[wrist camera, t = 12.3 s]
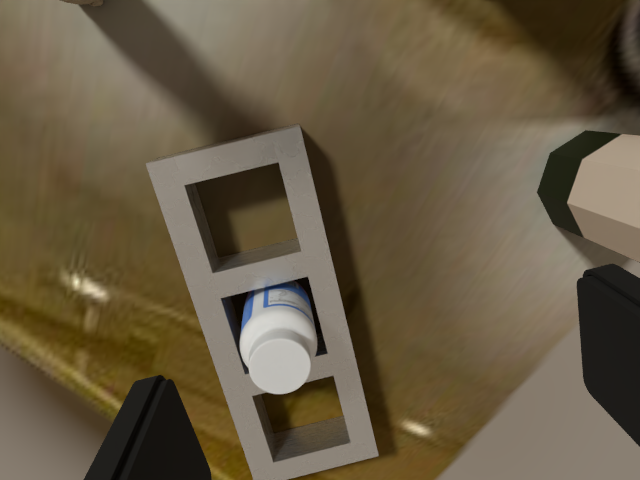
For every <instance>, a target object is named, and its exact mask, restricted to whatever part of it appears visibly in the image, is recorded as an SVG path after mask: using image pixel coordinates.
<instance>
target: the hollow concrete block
mask: <svg viewBox="0 0 640 480" xmlns="http://www.w3.org/2000/svg"><path fill="white" fill-rule="evenodd" d="M277 162H279V166H280V170H281V174H282V178H283V182H284V185H285V189H286V193H287V197H288V201H289V205H290V209H291V213H292V217H293V220H294V224H295V228H296V232H297V236H298V238H296V239H292V240H288V241H284V242H280V243H276V244H272V245H268V246H264V247H260V248H256V249H252V250H248V251H244V252H240V253H236V254H232V255H228V256H224V257H219V258H218V254H217V251H216V248H215V245H214V242H213V239H212V235H211V232H210V229H209V226H208V223H207V219H206V216H205V213H204V210H203V207H202V204H201V200H200V197H199V194H198V191H197V188H196V184H195V183H196V182H200V181H204V180H208V179H212V178H216V177H220V176H224V175H228V174H232V173H237V172H241V171H245V170H249V169H253V168H257V167H261V166H265V165H269V164H273V163H277ZM146 166H147V169H148V172H149V175H150V178H151V181H152V183H153V186H154V189H155V192H156V195H157V198H158V201H159V204H160V207H161V210H162V213H163V216H164V219H165V222H166V224H167V227H168V230H169V233H170V236H171V239H172V242H173V245H174V248H175V251H176V254H177V257H178V260H179V263H180V265H181V268H182V271H183V274H184V277H185V280H186V283H187V286H188V289H189V292H190V295H191V298H192V301H193V304H194V306H195V309H196V312H197V315H198V318H199V321H200V324H201V327H202V330H203V333H204V336H205V339H206V342H207V345H208V347H209V350H210V353H211V356H212V359H213V362H214V365H215V368H216V371H217V374H218V377H219V380H220V383H221V386H222V388H223V391H224V394H225V397H226V400H227V403H228V406H229V409H230V412H231V415H232V418H233V421H234V424H235V427H236V429H237V432H238V435H239V438H240V441H241V444H242V447H243V450H244V453H245V456H246V459H247V462H248V465H249V468H250V470H251V473H252V476H253V479H254V480H287V479H291V478H295V477H299V476H303V475H307V474H311V473H315V472H318V471H322V470H326V469H330V468H334V467H338V466H342V465H346V464H350V463H354V462H357V461H361V460H365V459H369V458H373V457H377V456H379V455H378V451H377V447H376V442H375V438H374V434H373V430H372V426H371V421H370V417H369V413H368V409H367V405H366V401H365V396H364V392H363V388H362V384H361V380H360V375H359V371H358V367H357V363H356V359H355V354H354V350H353V346H352V342H351V338H350V333H349V329H348V325H347V321H346V317H345V313H344V308H343V304H342V300H341V296H340V292H339V287H338V283H337V279H336V275H335V271H334V266H333V262H332V258H331V254H330V250H329V245H328V241H327V237H326V233H325V229H324V225H323V220H322V216H321V212H320V208H319V204H318V199H317V195H316V191H315V187H314V183H313V178H312V174H311V170H310V166H309V162H308V157H307V153H306V149H305V145H304V141H303V137H302V132H301V128H300V125H299V124H294V125H290V126H286V127H281V128H277V129H273V130H269V131H265V132H261V133H257V134H253V135H249V136H245V137H241V138H236V139H232V140H228V141H224V142H220V143H216V144H212V145H208V146H204V147H200V148H196V149H191V150H187V151H183V152H179V153H175V154H171V155H167V156H163V157H159V158H157V159H154V160H152V161H150V162H148V163H146ZM304 277H308V279H309V283H310V286H311V290H312V294H313V298H314V302H315V306H316V310H317V314H318V317H319V321H320V325H321V329H322V333H318V334H316V335H317V351H316V355H315V358H314V360H313V361H312V363H311V371H310V374H309V377H308V378H307V380H306V382H309V381H313V380H317V379H321V378H325V377H329V376H334V380H335V383H336V387H337V391H338V395H339V399H340V403H341V407H342V411H343V414H344V416H340V417H336V418H332V419H329V420H325V421H321V422H317V423H313V424H309V425H305V426H301V427H297V428H293V429H289V430H285V431H281V432H277V433H273V429H272V426H271V423H270V420H269V417H268V414H267V410H266V407H265V404H264V401H263V398H262V393H266V391H264V390H262V389H260V388H259V387H258V386H257V385H256V384H255V383H254V382H253V380H252V379H251V377H250V374H249V368H248V367H247V366H246V365H245V363H244V361H243V359H242V356H241V353H240V335H241V328H240V324H239V321H238V318H237V315H236V312H235V309H234V305H233V302H232V299H231V296H232V295H236V294H240V293H244V292H248V291H252V290H256V289H260V288H264V287H268V286H272V285H276V284H280V283H284V282H288V281H292V280H296V279H300V278H304Z"/></svg>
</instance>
